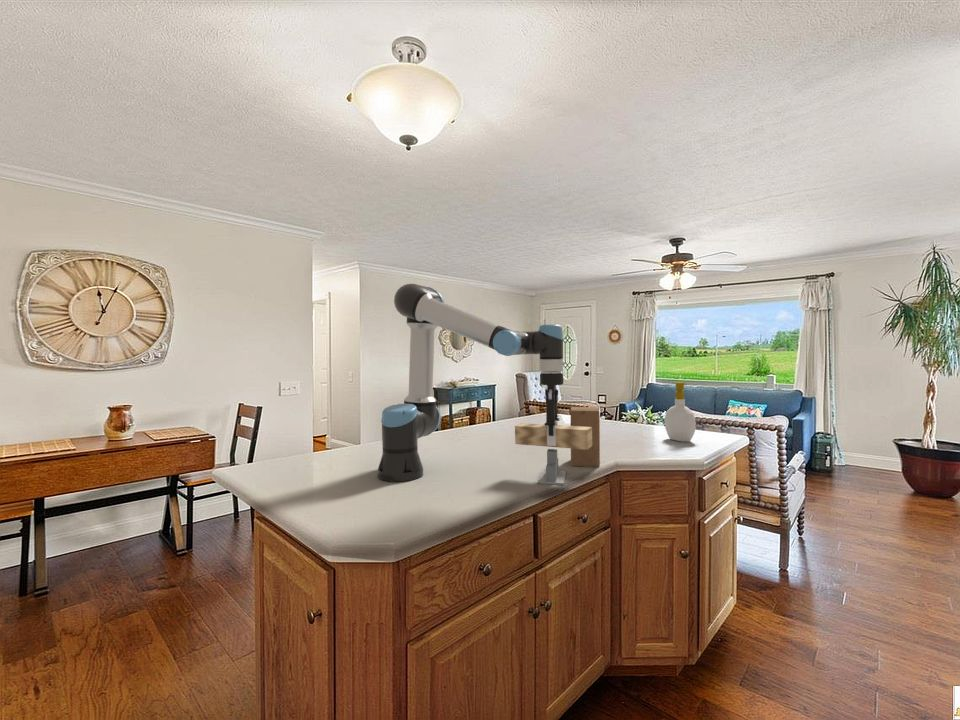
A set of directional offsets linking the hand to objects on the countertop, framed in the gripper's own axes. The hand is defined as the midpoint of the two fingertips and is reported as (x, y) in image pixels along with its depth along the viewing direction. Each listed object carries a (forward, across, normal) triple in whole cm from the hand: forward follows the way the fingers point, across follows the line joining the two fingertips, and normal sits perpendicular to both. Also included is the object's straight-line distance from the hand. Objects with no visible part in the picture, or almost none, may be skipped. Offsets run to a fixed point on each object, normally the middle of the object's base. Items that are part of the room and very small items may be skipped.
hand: (552, 443), depth 149 cm
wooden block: (+12, +21, -10) cm, 26 cm away
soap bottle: (+12, +70, -51) cm, 87 cm away
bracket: (+11, 0, 0) cm, 11 cm away
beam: (+1, 0, 0) cm, 1 cm away
